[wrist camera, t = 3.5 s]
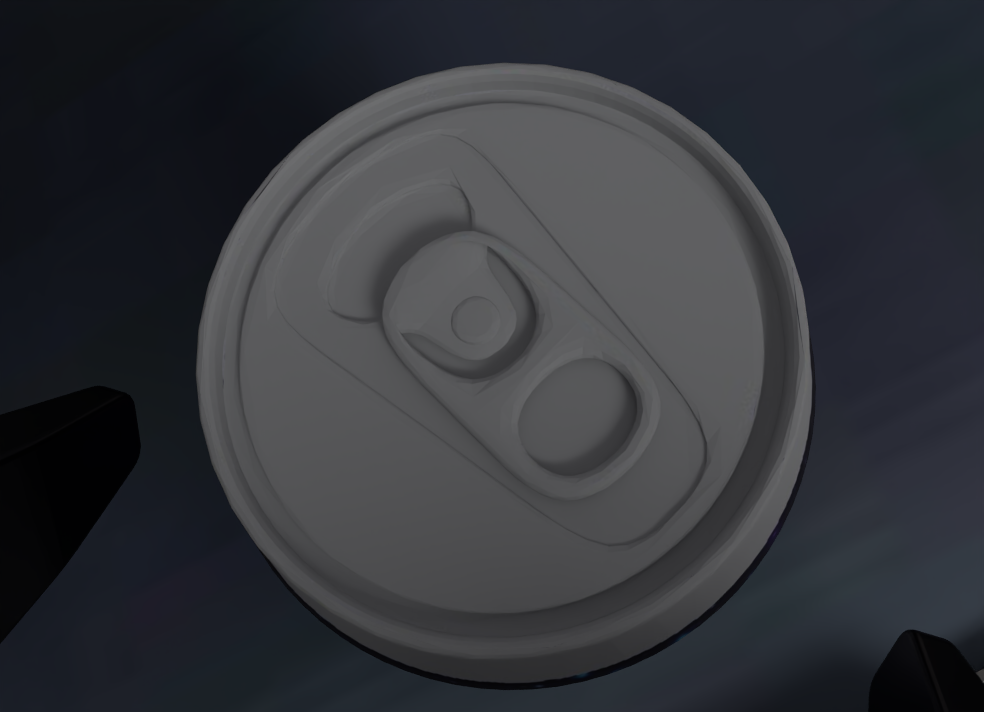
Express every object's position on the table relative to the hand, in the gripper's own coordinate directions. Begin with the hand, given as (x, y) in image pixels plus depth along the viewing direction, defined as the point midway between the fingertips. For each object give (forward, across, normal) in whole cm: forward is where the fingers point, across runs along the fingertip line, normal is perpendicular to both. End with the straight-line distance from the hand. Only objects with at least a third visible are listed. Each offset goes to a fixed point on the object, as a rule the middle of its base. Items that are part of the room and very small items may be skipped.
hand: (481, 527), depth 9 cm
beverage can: (+7, 0, +6) cm, 9 cm away
